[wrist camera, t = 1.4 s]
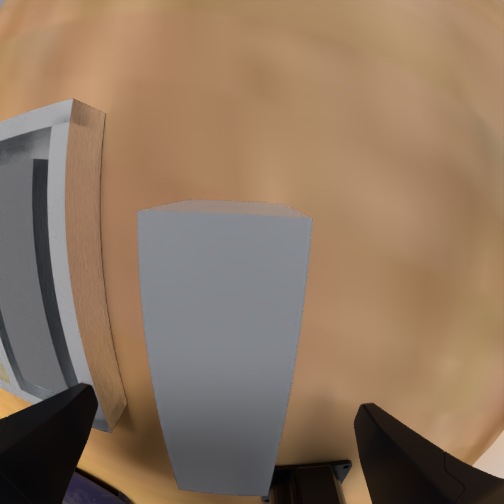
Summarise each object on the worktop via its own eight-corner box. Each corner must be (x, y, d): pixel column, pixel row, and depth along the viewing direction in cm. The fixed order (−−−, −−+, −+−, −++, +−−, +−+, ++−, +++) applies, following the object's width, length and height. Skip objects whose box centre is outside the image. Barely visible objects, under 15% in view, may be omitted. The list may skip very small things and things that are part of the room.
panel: (263, 413, 15) (267, 496, 9) (196, 409, 15) (178, 489, 9) (282, 203, 12) (312, 219, 6) (190, 199, 12) (137, 210, 6)
